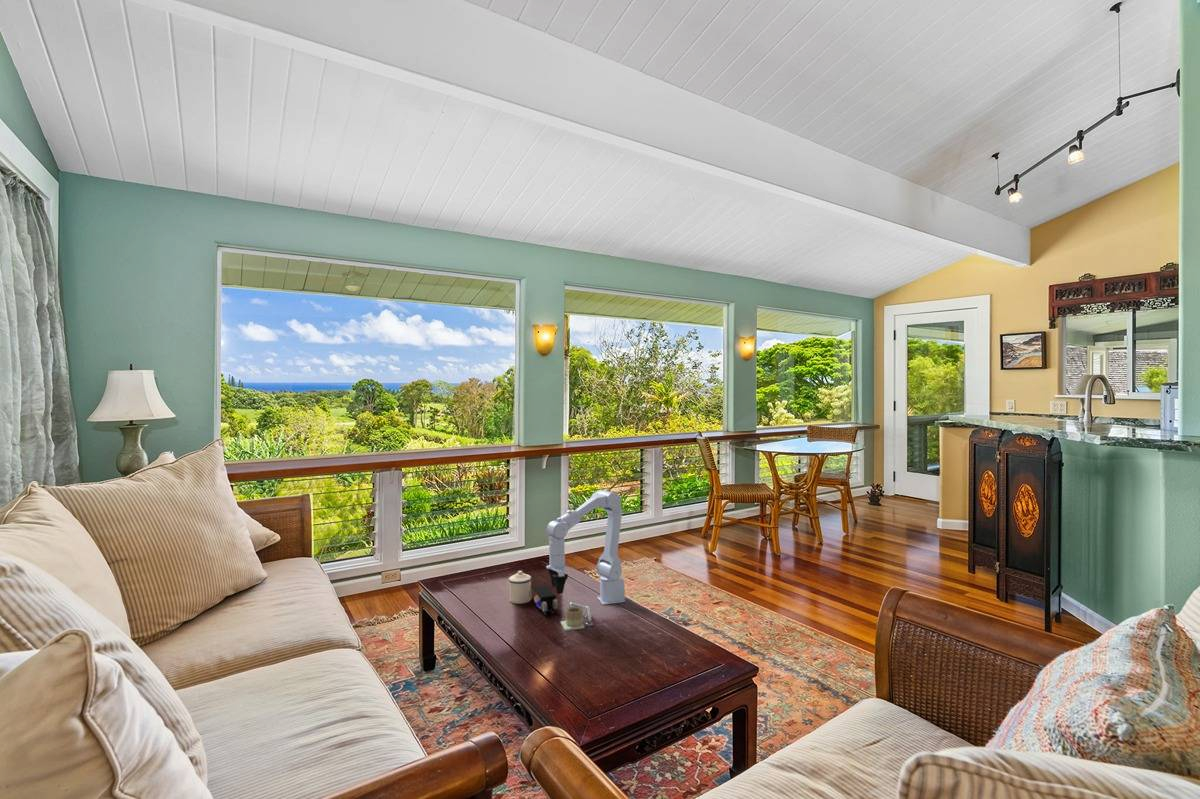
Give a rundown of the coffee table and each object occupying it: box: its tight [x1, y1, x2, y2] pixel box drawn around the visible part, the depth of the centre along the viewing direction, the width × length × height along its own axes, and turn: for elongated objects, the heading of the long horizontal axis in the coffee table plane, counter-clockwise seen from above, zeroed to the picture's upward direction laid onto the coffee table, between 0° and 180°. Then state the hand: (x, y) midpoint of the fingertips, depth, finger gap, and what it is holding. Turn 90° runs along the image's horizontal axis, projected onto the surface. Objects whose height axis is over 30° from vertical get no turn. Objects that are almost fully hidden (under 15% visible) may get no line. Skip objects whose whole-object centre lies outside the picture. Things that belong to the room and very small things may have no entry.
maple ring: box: [565, 606, 583, 627], centre depth 198 cm, size 6×6×5 cm
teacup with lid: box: [508, 570, 532, 605], centre depth 224 cm, size 12×9×12 cm
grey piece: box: [569, 602, 595, 627], centre depth 204 cm, size 8×15×4 cm, turn 17°
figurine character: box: [531, 584, 559, 616], centre depth 213 cm, size 7×8×15 cm
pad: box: [560, 620, 585, 632], centre depth 198 cm, size 7×7×1 cm
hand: (557, 589), depth 206 cm, fingers open, 7 cm apart
